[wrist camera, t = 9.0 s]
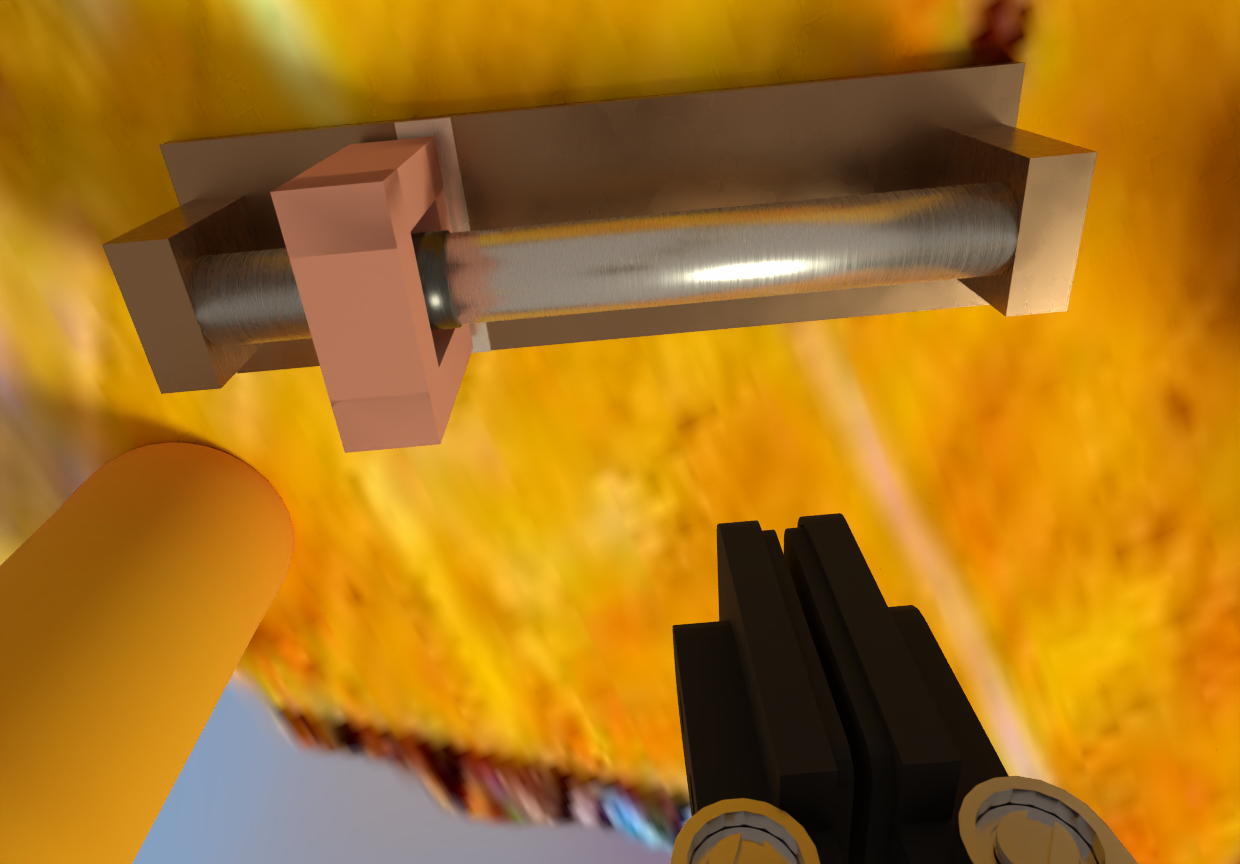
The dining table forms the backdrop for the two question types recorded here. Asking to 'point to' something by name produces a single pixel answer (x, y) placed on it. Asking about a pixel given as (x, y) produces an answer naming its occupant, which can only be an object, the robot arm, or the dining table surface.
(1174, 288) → the dining table surface
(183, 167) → the pipe rig
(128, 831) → the beer bottle
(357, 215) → the collar
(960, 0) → the dining table surface
